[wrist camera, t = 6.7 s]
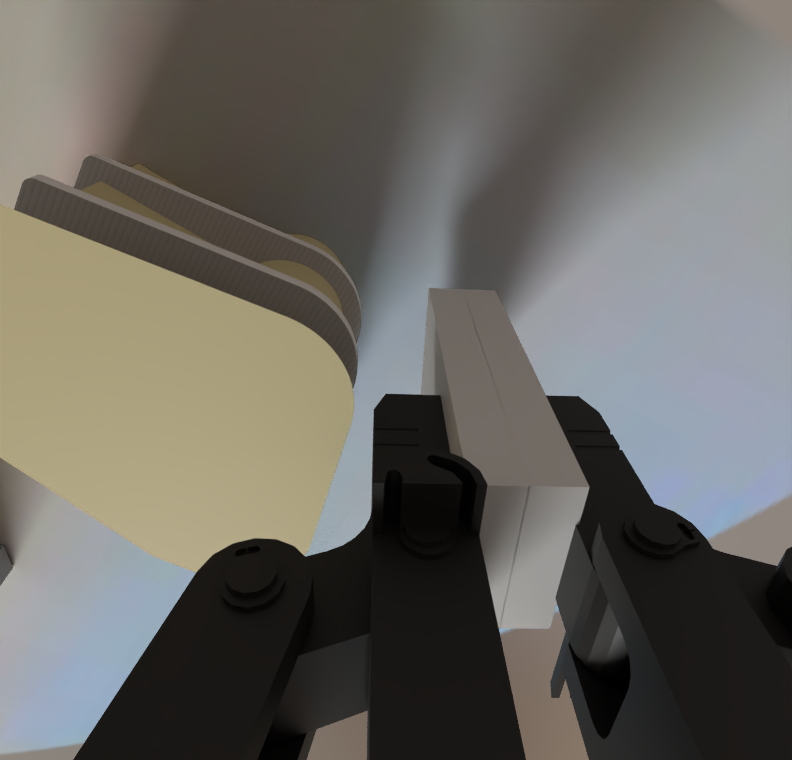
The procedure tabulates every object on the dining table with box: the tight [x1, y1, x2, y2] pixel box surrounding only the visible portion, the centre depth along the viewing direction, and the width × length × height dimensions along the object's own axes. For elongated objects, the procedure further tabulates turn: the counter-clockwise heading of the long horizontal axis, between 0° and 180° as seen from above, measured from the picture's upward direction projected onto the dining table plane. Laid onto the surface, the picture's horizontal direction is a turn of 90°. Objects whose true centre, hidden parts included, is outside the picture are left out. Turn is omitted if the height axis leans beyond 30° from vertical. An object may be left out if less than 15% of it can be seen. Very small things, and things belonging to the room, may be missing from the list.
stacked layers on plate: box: [0, 154, 361, 573], centre depth 12 cm, size 10×9×6 cm
